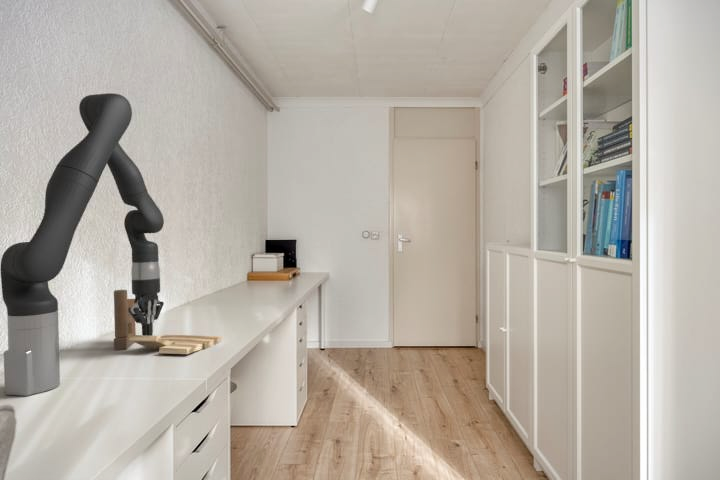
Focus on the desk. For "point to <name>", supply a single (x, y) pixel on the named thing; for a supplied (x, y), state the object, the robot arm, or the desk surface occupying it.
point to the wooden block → (123, 320)
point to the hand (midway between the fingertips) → (147, 336)
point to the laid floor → (192, 340)
